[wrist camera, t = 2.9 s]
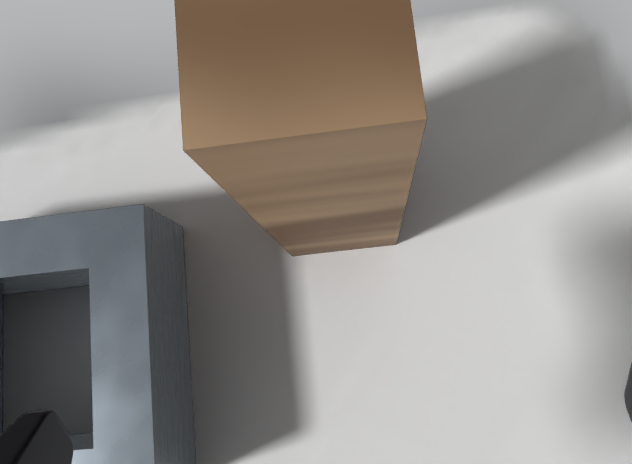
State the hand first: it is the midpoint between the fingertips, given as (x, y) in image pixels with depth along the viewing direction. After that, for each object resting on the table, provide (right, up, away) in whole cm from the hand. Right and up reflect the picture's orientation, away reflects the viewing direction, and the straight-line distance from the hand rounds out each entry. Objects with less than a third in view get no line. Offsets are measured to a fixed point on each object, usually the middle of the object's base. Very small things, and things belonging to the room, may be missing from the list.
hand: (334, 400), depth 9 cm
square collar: (-10, -2, +13) cm, 17 cm away
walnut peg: (+1, +4, +13) cm, 14 cm away
